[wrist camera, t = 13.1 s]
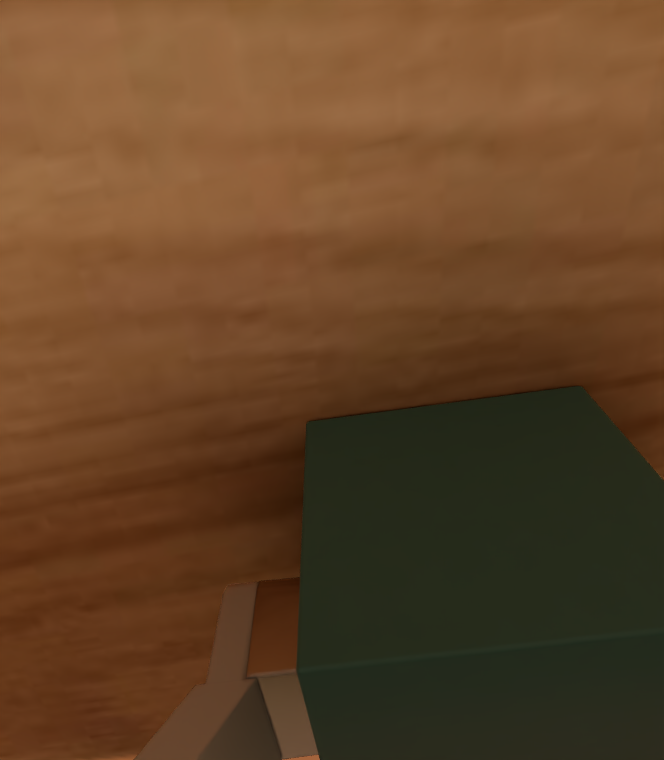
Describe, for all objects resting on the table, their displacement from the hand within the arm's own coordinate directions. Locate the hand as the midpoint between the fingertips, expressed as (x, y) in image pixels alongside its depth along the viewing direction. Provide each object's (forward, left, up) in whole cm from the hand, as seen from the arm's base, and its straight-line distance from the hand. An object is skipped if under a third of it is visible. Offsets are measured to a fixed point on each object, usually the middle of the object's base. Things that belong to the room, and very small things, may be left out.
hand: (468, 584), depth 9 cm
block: (0, 0, -2) cm, 2 cm away
